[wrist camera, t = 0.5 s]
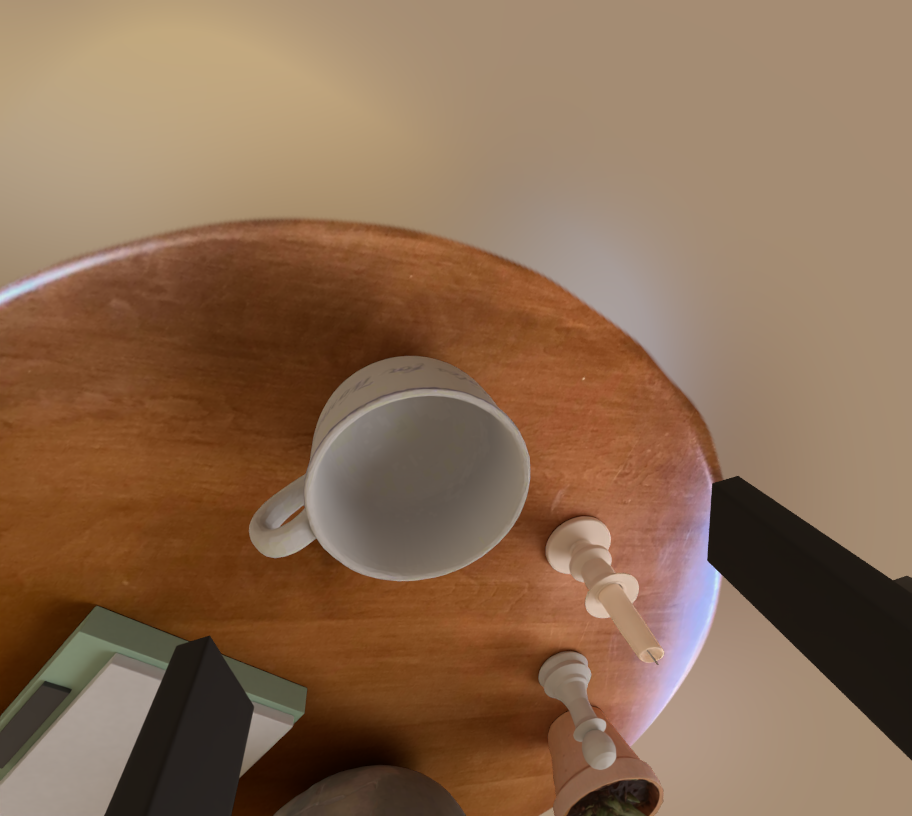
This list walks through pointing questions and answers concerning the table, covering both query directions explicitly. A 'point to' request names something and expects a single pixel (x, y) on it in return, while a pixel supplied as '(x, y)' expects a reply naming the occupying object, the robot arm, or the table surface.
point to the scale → (108, 716)
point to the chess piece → (578, 705)
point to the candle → (602, 580)
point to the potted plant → (600, 777)
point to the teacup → (403, 475)
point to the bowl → (374, 795)
